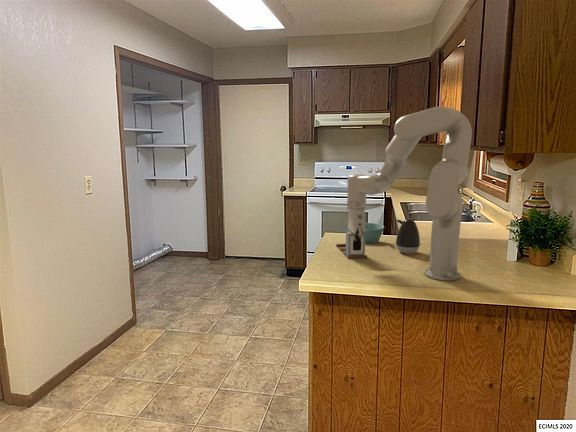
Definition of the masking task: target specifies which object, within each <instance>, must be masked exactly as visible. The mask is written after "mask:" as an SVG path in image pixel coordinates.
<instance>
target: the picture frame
mask: <svg viewBox="0 0 576 432" xmlns="http://www.w3.org/2000/svg"><path fill="white" fill-rule="evenodd" d="M356 233H358V232H356ZM356 236H357V235H356ZM353 241H354V233H353V232H350V231H346V232H345V244H346V256H347V257H348V256H354V255H366V243H365V233H364V234H363V233H362V237H361V250H353ZM346 256H345V257H346ZM347 257H346V258H347Z"/></svg>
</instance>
